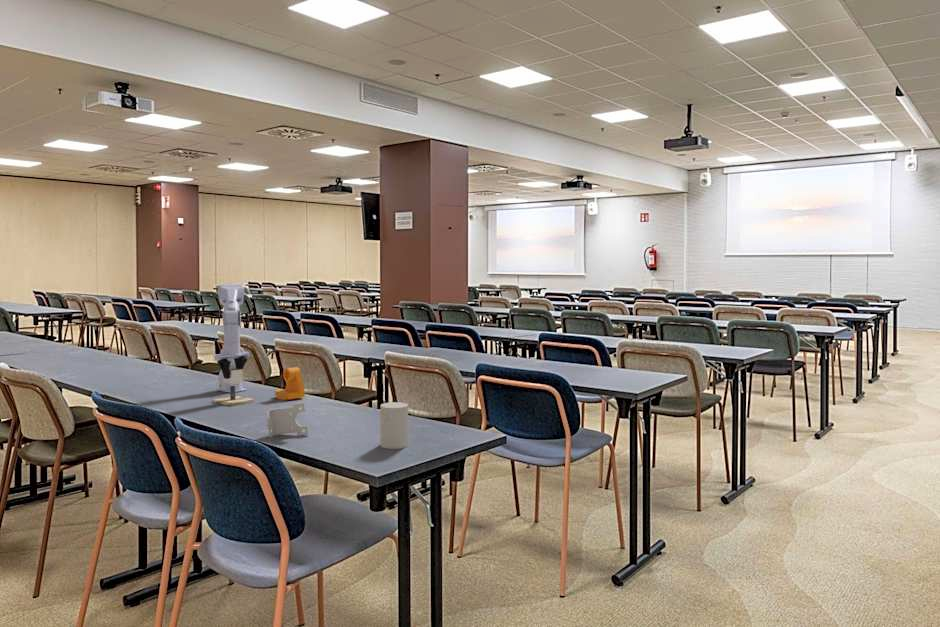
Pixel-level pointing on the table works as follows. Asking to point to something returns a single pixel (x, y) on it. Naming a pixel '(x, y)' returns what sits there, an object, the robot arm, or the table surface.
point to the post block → (232, 399)
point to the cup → (394, 425)
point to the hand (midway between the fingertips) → (232, 377)
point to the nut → (234, 376)
